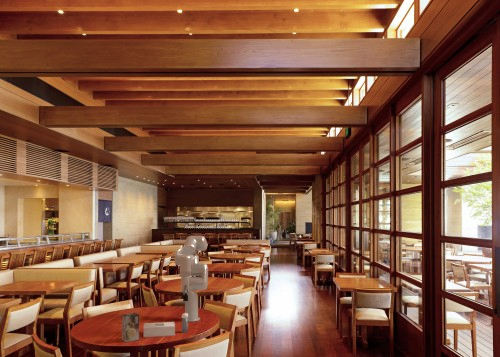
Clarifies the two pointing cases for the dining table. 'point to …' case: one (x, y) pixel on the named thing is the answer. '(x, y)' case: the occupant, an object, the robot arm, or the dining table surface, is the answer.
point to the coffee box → (130, 327)
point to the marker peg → (184, 322)
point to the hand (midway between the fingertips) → (185, 299)
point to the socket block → (159, 329)
